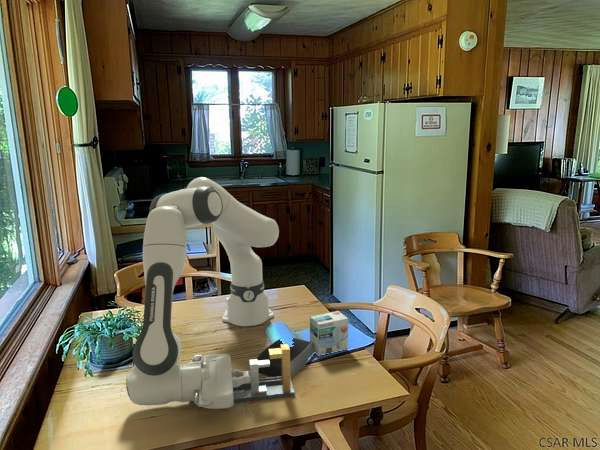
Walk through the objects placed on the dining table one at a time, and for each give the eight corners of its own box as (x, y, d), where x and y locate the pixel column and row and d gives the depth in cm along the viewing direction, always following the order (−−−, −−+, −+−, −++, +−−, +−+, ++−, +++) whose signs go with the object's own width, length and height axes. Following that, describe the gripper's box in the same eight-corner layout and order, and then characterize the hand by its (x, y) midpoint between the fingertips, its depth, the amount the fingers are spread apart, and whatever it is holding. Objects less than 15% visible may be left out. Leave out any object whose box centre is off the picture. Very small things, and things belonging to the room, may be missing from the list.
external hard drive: (319, 353, 141) (319, 341, 140) (287, 383, 124) (286, 370, 123) (283, 343, 147) (283, 332, 146) (248, 371, 131) (247, 358, 130)
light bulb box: (318, 357, 137) (318, 324, 135) (308, 347, 143) (308, 316, 141) (348, 350, 142) (349, 318, 139) (338, 341, 148) (338, 310, 145)
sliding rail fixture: (201, 391, 120) (198, 346, 117) (290, 381, 124) (289, 337, 121) (200, 407, 113) (197, 359, 110) (294, 396, 117) (294, 349, 115)
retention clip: (250, 389, 118) (249, 359, 116) (269, 387, 119) (268, 357, 117) (251, 395, 116) (250, 364, 114) (270, 392, 117) (269, 362, 115)
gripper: (192, 394, 103) (253, 387, 106) (195, 351, 123) (247, 346, 125) (194, 418, 104) (253, 411, 107) (197, 372, 124) (247, 367, 127)
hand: (250, 376), depth 116 cm, fingers closed
